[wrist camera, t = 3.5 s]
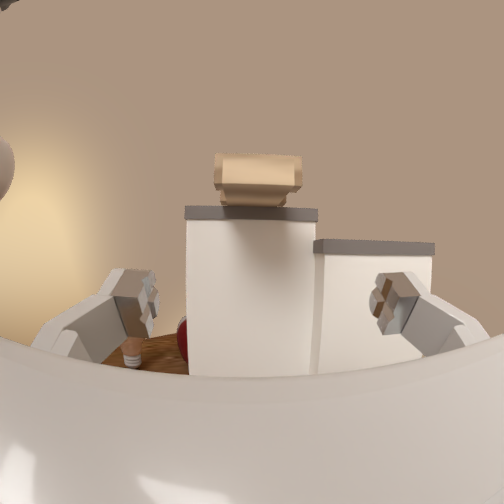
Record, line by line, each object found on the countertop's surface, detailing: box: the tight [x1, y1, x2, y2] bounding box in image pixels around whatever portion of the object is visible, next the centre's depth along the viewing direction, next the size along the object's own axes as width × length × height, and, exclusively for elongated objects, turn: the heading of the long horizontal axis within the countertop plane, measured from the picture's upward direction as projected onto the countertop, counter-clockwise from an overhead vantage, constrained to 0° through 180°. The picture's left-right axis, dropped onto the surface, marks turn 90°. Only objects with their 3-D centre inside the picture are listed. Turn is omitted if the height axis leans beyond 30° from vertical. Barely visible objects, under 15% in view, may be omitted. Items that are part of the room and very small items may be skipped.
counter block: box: [185, 206, 435, 377], centre depth 32 cm, size 20×24×26 cm
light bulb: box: [120, 337, 145, 369], centre depth 43 cm, size 7×7×12 cm
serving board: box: [214, 153, 302, 207], centre depth 27 cm, size 22×6×5 cm, turn 3°
